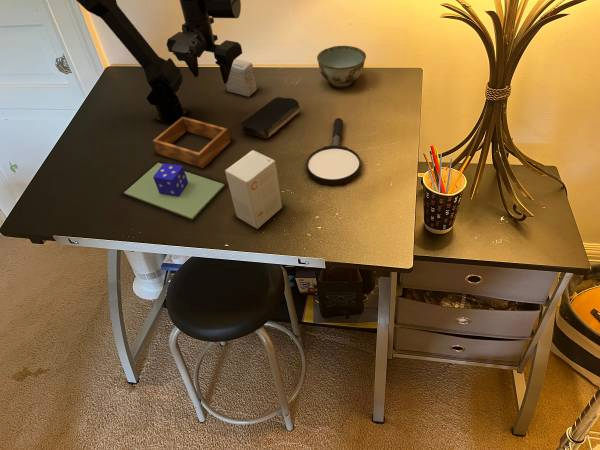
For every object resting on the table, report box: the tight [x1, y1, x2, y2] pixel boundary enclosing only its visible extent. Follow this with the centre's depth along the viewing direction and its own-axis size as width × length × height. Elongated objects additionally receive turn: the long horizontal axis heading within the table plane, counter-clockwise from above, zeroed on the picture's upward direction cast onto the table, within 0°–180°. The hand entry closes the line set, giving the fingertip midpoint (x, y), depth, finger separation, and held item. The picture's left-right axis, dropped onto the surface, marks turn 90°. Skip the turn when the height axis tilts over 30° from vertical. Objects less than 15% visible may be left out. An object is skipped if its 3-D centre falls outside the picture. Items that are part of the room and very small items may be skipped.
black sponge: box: [240, 96, 301, 139], centre depth 121 cm, size 16×8×4 cm, turn 144°
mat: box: [123, 162, 226, 221], centre depth 106 cm, size 20×12×1 cm, turn 61°
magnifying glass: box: [306, 117, 362, 186], centre depth 110 cm, size 12×24×2 cm, turn 173°
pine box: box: [152, 116, 231, 169], centre depth 116 cm, size 15×12×4 cm
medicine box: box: [225, 58, 258, 98], centre depth 132 cm, size 8×4×9 cm, turn 58°
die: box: [153, 162, 188, 196], centre depth 104 cm, size 5×5×5 cm
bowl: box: [316, 45, 367, 88], centre depth 131 cm, size 14×13×8 cm
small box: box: [224, 149, 283, 230], centre depth 94 cm, size 8×6×13 cm
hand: (211, 79), depth 116 cm, fingers open, 9 cm apart
